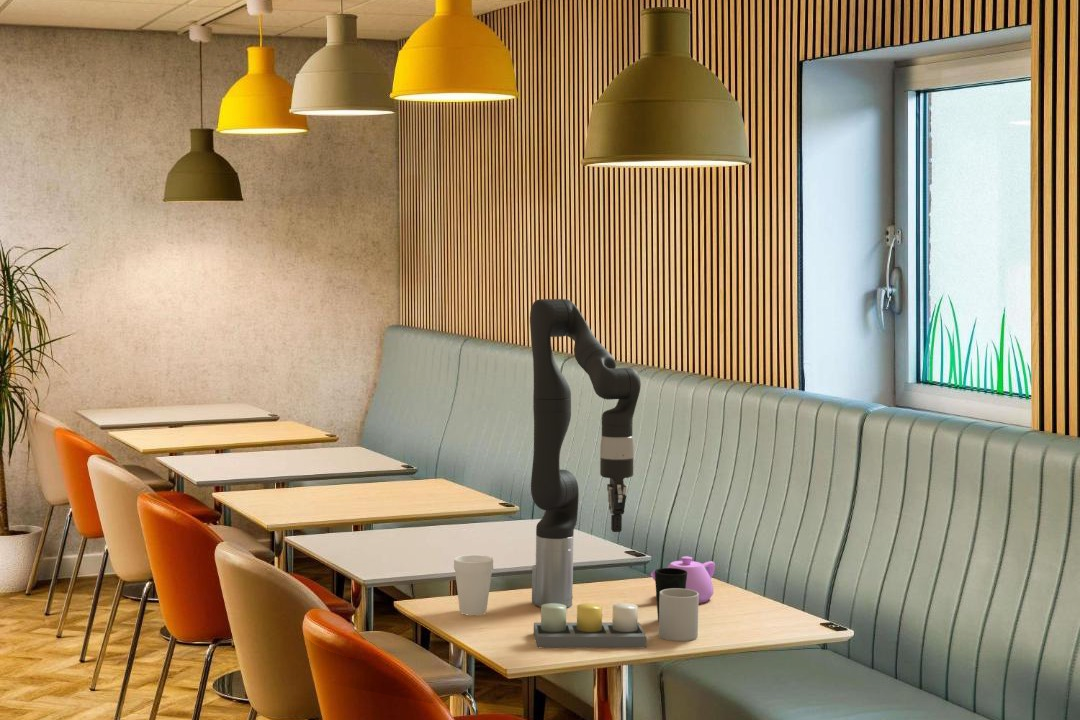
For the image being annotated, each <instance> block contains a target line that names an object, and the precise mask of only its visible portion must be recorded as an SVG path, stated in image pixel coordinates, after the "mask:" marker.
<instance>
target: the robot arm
mask: <svg viewBox="0 0 1080 720" xmlns="http://www.w3.org/2000/svg"><path fill="white" fill-rule="evenodd" d="M529 328H530V329H529V330H530V340H531V349H532V366H533V369H532V370H533V397H532V398H533V399H532V400H533V402H532V403H533V408H532V409H533V457H532V468H531V476H530V477H531V478H530V493H531V494H530V495H531V498H532V500H533V502H534V504H535V505H536V507H537V508H538V509H541V510H542V511H545V512H544V514H543V516H542V518H541V519H540V520H539V521H538V522H537V524H536V526H535V527H536V528H535V564H534V565H532V568H531V571H532V572H531V605H535V606H536V607H540V608H541V606H542V605H543V604H549V603H557V604H563V605H566V608H570V607H572V606H573V585H574V583H573V582H574V580H573V579H574V532H575V531H574V530H575V527H576V525H577V523H578V514H579V513H578V510H579V498H580V497H579V496H580V495H579V485H578V481H577V478H576V477H575V475H574V473H572V472H570V471H569V470H567V469H560V459H561V458H560V457H561V449H562V446H563V443H564V441H565V437H566V435H567V432H568V429H569V427H570V423H571V417H572V393H571V388H570V385H569V383H568V381H567V379H566V378H565V376H564V374H563V373H562V371H561V370H560V368H559V366H558V364H557V362H556V361H555V358H554V354H553V347H552V338H558V337H559V338H560V337H561V338H562V337H563V338H564V337H568V338H570V339H571V340H573V341H574V346H573V355H574V358H575V360H576V362H577V364H578V365H579V366H580V367H581V369H583V370H584V372H585V373H586V374H587V375H588V377H589V379H590V382H591V385H592V388H593V390H594V392H595V394H596V395H597V396H598V397H599V398H601V399H603V400H618V401H617V403H616V406H615V407H612V408H610V409H607V410H605V411H604V412H602V414H601V440H600V447H599V448H600V449H599V450H600V451H599V452H600V453H599V454H600V457H599V458H600V461H599V462H600V463H599V464H600V465H599V466H600V467H599V473H600V474H599V475H600V476H601V477H603V478H605V479H607V478H608V479H609V483H607V484H606V491H607V502H608V510H609V513H610V516H611V517H610V520H611V521H610V530H611V531H612V532H613V533H621V532H622V529H623V527H622V526H623V524H622V523H623V522H622V520H623V518H622V516H623V515H624V513H625V506H626V499H627V495H626V494H627V485H625V482H624V479H625V478H626V479H629V478H632V477H633V476H634V440H633V422H634V420H633V417H634V414H635V411H636V407H637V403H638V400H639V397H640V392H641V385H642V383H641V378H640V376H639V373H638V372H637V370H635V369H634V368H631V367H617V365H616V364H617V363H616V359H615V358H614V357H613V355H612V354H611V353H610V352H609V351H608V350H607V348H605V346H603V345H602V344H601V343H600V342H599V340H598V339H597V338H596V337H595V335H594V334H593V331H592V330H591V328H590V327H589V324H588V322H587V321H586V319H585V318H584V317H583V315H582V313H581V311H580V309H579V308H578V307H577V306H576V304H575V303H574V302H573V301H571V300H569V299H567V298H566V299H565V298H547V299H546V298H542V299H536V300H535V301H534V302H533V303H532V305H531V308H530V314H529Z"/></svg>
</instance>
